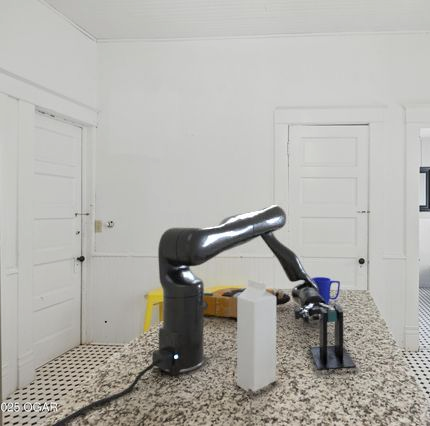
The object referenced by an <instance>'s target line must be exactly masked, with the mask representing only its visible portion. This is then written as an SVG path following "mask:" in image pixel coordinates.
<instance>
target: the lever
mask: <svg viewBox="0 0 430 426" xmlns="http://www.w3.org/2000/svg"><path fill="white" fill-rule="evenodd" d="M312 318H313V319H312ZM312 318H311V319H312V321H320V320H319V315H313V316H312ZM335 322H337V314H336V311H334V312H333V311H332V312H327V323H335Z"/></svg>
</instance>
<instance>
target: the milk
mask: <svg viewBox="0 0 430 426" xmlns="http://www.w3.org/2000/svg"><path fill="white" fill-rule="evenodd" d="M247 285H248V286H247V287H245V288H246V289H245V290H244V291H243V292H242V293H241V294H240V295H239V296H238V297H237V318H236V319H237V320H236V321H237V322H236V324H237V326H236V327H237V329H236V331H237V333H236V335H237V336H236V344H237V345H236V348H237V349H236V353H237V354H236V361H237V362H236V366H237V367H236V371H237V372H236V385H237V386H238V387H240V388H241V389H243V390H244V391H245V392H247V393H249V390H251V391H252V392H257V391H258V390H260V389H262V388H264V387H266V386H268V385H270V384H272V383H274V382H275V381H277V305H276V296H274V295H272V294H270V293H269V292H267V291H266V290H267V284H266V283H263V282H260V281H256V280H250V279H248V284H247Z"/></svg>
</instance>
